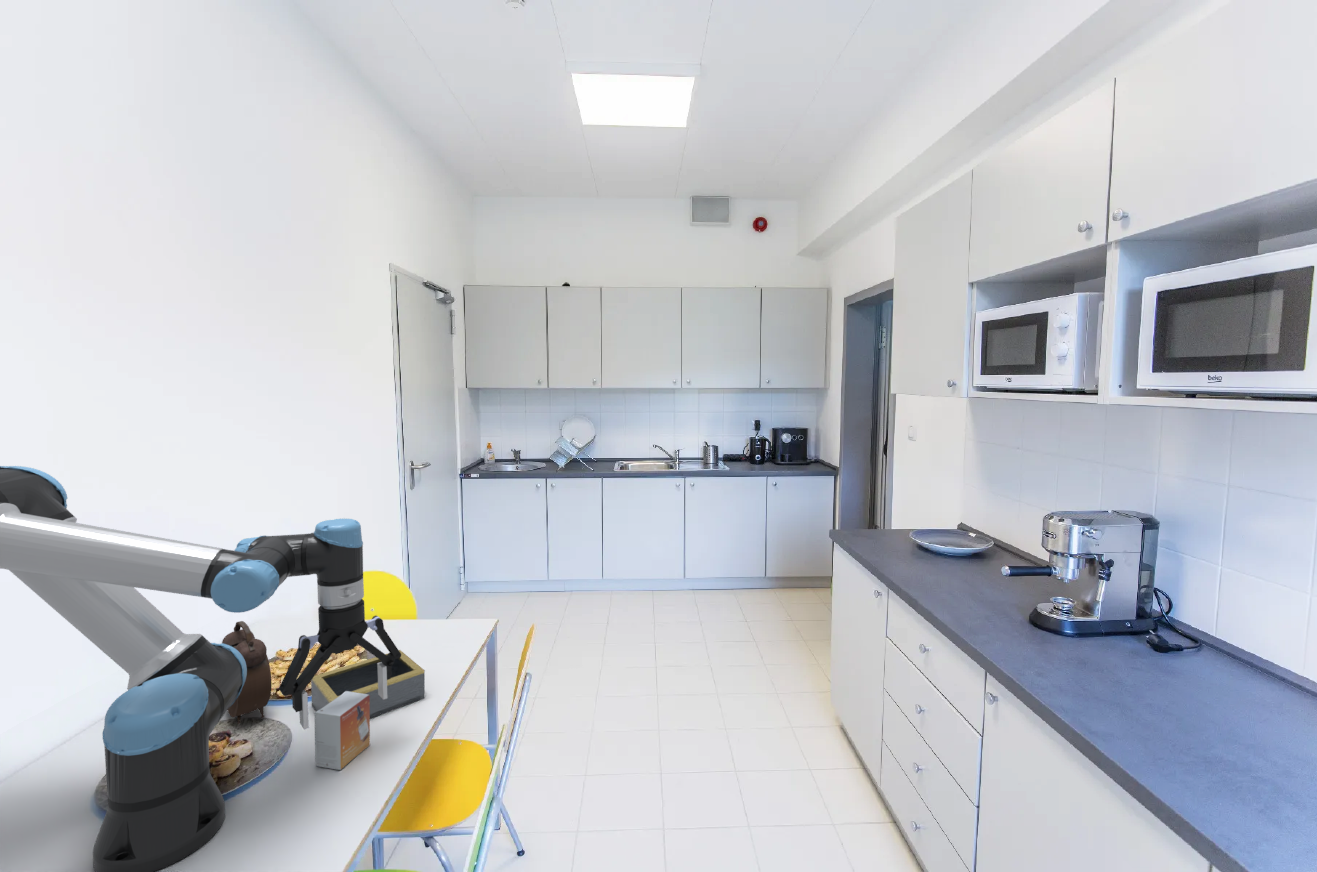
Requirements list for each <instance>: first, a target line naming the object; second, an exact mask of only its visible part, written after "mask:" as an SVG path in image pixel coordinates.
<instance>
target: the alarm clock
mask: <svg viewBox="0 0 1317 872" xmlns="http://www.w3.org/2000/svg"><path fill="white" fill-rule="evenodd" d="M221 643H223V644H227V645H229V646H232V647H233V648H235V649H236V650H238V651H239V652H240V653H241V655H242V656H243V658H244V660H245V662H246V666H247V676H246V680H245V683H244V685H243V687H242V690H241V692H240V694H239V696H238V698H237V699H236V700H235V702H234V703H233V704H232V705H231V706H230V707H229V708H228V710H227V713H228V715H229V716H230V718H236V719H237V723H236V724H237V725H241V723H242V721H241V719H242V716H244V715H248V714H251V713H252V712H255V711H258V712H259V714H260V719H264V718H265V714H264V713H265V712H264V711H265V710H264V709H265V708H264V707H266V706H267V705H268V704H269V702H270V701H269V700H270V698H271V696H272V687H273V686H272V673H271V666H270V661H269V657H268V654H267V646H266V644H265V642H263V640H262V639H258V638H256V637H255V635H254V633H253V632H252V631H251V628H250V627H249V625H248V624H247V623H246V622H245V621H243V620H240V621H236V622H235V625H234V627H233V631H231V632H229V633H227V634H226V635H225V636H224V637H223V639H222V641H221Z"/></svg>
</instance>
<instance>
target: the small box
mask: <svg viewBox="0 0 1317 872" xmlns="http://www.w3.org/2000/svg"><path fill="white" fill-rule="evenodd" d="M313 714H314V764H315V765H314V766H315V767H319V768H326V769H331V770H335V771H336V770H337V771H341V770H342V769H344V768H345V767H346V766H347V765H348V764H349V763H350V762H351V761H353V760H354V759H355V758H356V757H358V756H359V754H361V753H363V751H364V750H366V749H367V748H368V747H369V746H371V732H370V731H371V724H370V723H371V722H370V721H371V719H370V695H368V694H362V693H356V692H349V691H345V692H344V693H343V694H342V695H340V696H339V697H337V698H336V699H334V700H333V701H332V702H330V703H329V704H327V705H326V706H324V707H323V708H321V709H320V710H318V711H315V712H314V713H313Z"/></svg>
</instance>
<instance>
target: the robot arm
mask: <svg viewBox="0 0 1317 872" xmlns="http://www.w3.org/2000/svg"><path fill="white" fill-rule="evenodd" d="M67 500H68V495H67V491H66V490H65V488H64V486H63V485H62V483H61V482H59V480H57V479H56V478H55V477H53V476H52V475H51V474H49V473H47V472H45V471H43V470H40V469H37V468H34V467H33V468H32V467H30V466H29V467H28V466H21V465H8V466H7V465H0V569H3V570H8V571H9V572H10V573H11V574H12V575H14V576H15V577H16V578H17V579H19V580H20V581H21V582H22V583H23V584H24V585H26V587H28V588H29V589H30V590H31V591H32V592H34V593H35V594H36V595H37V596H38V597H39V598H40V599H42V600H43V601H44V602H45V603H46V604H47V605H48V606H50V607H51V608H52V609H53V610H54V611H55V612H57V613H58V614H59V615H60V616H61V617H62V618H63V619H65V621H67V622H68V623H69V624H70V625H72V627H74V628H75V629H76V630H77V631H79V632H80V633H81V634H82V635H83V636H84V637H85V638H86V639H88V640H89V641H90V642H91V643H92V644H93V645H94V646H96V647H97V648H98V649H99V650H100V651H102V653H104V654H105V655H106V656H107V657H108V658H109V659H111V660H112V661H113V662H115V664H116V665H118V667H120V668H121V669H122V670H123V671H125V672H126V673H127V674H128V677H129V678H128V682H127V687H126V689H127V690H125V692H124V693H122V694H121V695H120V696H118V697H117V698H116V699H115V700H114V701H113V702H112V703H111V705H110V706H109V707H108V709H107V710H106V713H105V717H104V722H103V723H104V725H103V729H102V733H101V734H102V740H103V747H104V759H105V761H104V762H105V778H106V780H105V781H106V795H107V810H106V812H105V815H104V817H103V820H102V823H101V825H100V828H99V831H98V834H97V837H96V839H95V842H94V846H93V849H92V862H93V863H92V865H93V870H94V871H95V872H156V871H159V870H162V869H164V868H166V867H169V866H171V865H173V864H174V863H177V862H179V861H181V860H182V859H184V858H186V857H188V856H189V855H191V854H193V853H194V852H196V851H197V850H199V849H200V848H201V847H202V846H203V845H205V844H206V843H207V842H209V840H211V839H212V838H213V837H214V836H215V834H216V833H218V832H219V830H220V829H221V828H222V826H223V824H224V821H225V818H226V811H225V810H226V809H225V808H226V807H225V805H226V804H225V799H224V796H223V794H222V793H221V791H220V789H219V787H218V785H217V783H216V782H215V780H214V778H213V777H212V775H211V771H210V751H209V750H210V748H209V746H210V745H209V744H210V743H209V742H210V741H209V739H210V734H211V733H212V732H213V731H214V730H215V727H216V726H217V725H218V723H220V721H221V720H222V718H223V717H224V716H225V714H226V713H227V712H228V708H229V707H230V706H231V705H232V704H233V703H234V702H235V700H236V699H237V698H238V696H239V694H240V692H241V690H242V687H243V685H244V683H245V680H246V676H247V666H246V662H245V660H244V658H243V656H242V655H241V653H240V652H239V651H238V650H236V649H235V648H233V647H232V646H229V645H227V644H223V643H222V642H221V643H216V642H210V641H209V640H208V639H207V638H206V637H205V636H203V634H201V633H184V632H183V630H181V629H180V628H178V626H177V625H175V624H174V622H172V621H171V620H170V619H169V618H168V617H167V616H166V615H165V614H164V613H162V611H160V610H159V609H158V608H157V607H156V606H155V605H154V604H153V603H151V602H150V601H149V600H148V599H147V598H146V597H145V596H144V595H143V594H142V593H141V592H139V590H137V589H136V588H138V589H142V590H143V589H144V590H150V591H158V592H164V593H170V594H177V595H178V594H179V595H183V596H184V595H185V596H191V597H199V598H205V599H211V600H212V601H213V602H214V604H215V606H217V607H219V608H220V609H222V610H224V611H226V612H229V613H234V614H236V613H238V614H239V613H247V612H249V611H251V610H252V611H253V610H254V609H257V608H258V607H260V606H261V605H262V604H263V603H265V602H266V601H268V600H269V599H270V598H271V597H272V596H274V594H275V593H276V591H277V589H278V588H279V586H281V585H282V584H283V583H284V582H285V581H286V580H287V578H291V577H302V576H311V575H316V581H317V584H316V585H317V604H318V605H319V607H318V609H317V610H318V612H317V613H318V632H317V634H315V635H309V636H306V635H305V634H301V635H300V637H298V645H297V646H298V647H297V650H296V652H295V654H294V656H293V659H292V661H291V663H290V664H289V666H288V668H287V671H286V673H285V674H284V677H283V679H282V681H281V682H280V685H279V688H278V689H279V692H280V693H281V694H282V696H283V697H287V696H291V698H292V699H291V701H292V703H291V704H292V709H293V710H294V711H295V713H298V715H299V725H301V727H302V729H303V730H307V729H309V728H310V727H309V726H310V724H309V723H310V722H309V702H308V692H307V691H306V688H307V687H308V685H309V684H310V683H311V680H312V678H313V677H314V676H316V675H317V673H318V671H319V670H320V669H321V668H322V666H323V665H324V663H325V662H326V661H327V660H329V658H330V657H331V656H332V654H335V655H337V654H342V653H343V652H345V651H352V650H354V649H355V648H356V647H357V646H358V645H359V646H360V648H363V649H365V650H366V651H367V652H369V653H370V654H371V655H373V656H374V657H377V658H378V659H379V660H381V661H382V662H380V663H377V666H378V695H379V696H380V697H381V698H382V699H383V700H384V699H386V698H387V680H389V679H391V676H392V672H391V666H392V665H393V663H394V662H393V661H394V660H395V659H399V658H400V657H401V653H400V652H399V650H400V649H399V648H398V647H397V645H396V644H395V643H394V641H393V639H392V638H391V637H390V635H389V634H388V633H387V630H386V629H385V627H384V626H385V625H384V621H383V619H382V618H381V617H380V616H378V615H374V616H372V617H371V619H369V620H365V619H366V617H365V615H366V614H365V599H364V596H365V591H364V590H365V589H364V553H363V552H364V551H363V550H364V549H363V547H364V546H363V545H364V542H363V538H362V537H363V536H362V535H363V534H362V526H361V523H360V522H359V521H358V520H356V519H353V518H334V519H328V520H327V519H325V520H323V521H320V522H318V523H317V524H316V525H315V526H314V527H315V528H314V531H313V532H311V533H300V534H281V535H260V536H257V537H248V538H243V539H241V540H240V541H239V542H237V544H236V548H235V549H233V550H231V549H225V548H221V547H217V546H216V547H215V546H209V545H205V544H199V543H193V542H187V541H182V540H176V539H171V538H165V537H160V536H159V537H158V536H153V535H148V534H142V533H136V532H132V531H131V532H130V531H124V530H119V529H114V528H108V527H102V526H97V525H91V524H84V523H78V522H77V520H78V518H77V517H76V516H75V515H73V513H72V512H70V511H69V510H68V509H67V507H68V503H67ZM368 628H370V630H372V631H374V632H375V633H376V635H377V636H378V637H379V639H380V641H381V642H382V643H383V645H384V647H385V648H386V649H387V651H388V652H389V654H388V653H385V652H383V651H381V650H380V649H379V648H378V647H376V646H374V645H373V644H372V643H370V641H368V640H366V639H365V638H364V637H363V636H364V635H365V634H366V632H367V631H368ZM316 643H319V644H320V646H319V647H318V648H317V650H316V651H315V654H314V655H313V657H312V658H311V660H310V661H309V662H308V664H307V665H306V666H305V668H304V669H303V667H304V664H305V662H306V661H307V658H308V656H309V653H310V650H311V649H313V648H314V645H316ZM386 654H387V655H386ZM302 669H303V670H302ZM301 671H302V672H301Z"/></svg>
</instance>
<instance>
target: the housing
mask: <svg viewBox="0 0 1317 872" xmlns="http://www.w3.org/2000/svg"><path fill="white" fill-rule="evenodd" d="M398 650H399V652H400V653H401V657H400V658H399V659H395V660H394V661H393V662H394V663H393V665H392V666H391V672H392V676H391V679H389V680H387V698H386V699H384V700H383V699H382V698H381V697H380V696H379V695H378V666H377V663H380V662H382V661H381V660H379V659H378V658H377V657H375V656H374V657H372V658H369V659H365V660H362V661H359V662H355V663H353V664H349V665H346V666H343V667H338V668H335V669H333V670H329V671H326V672H323V673H320V674H315V676H314V677H313V678H312V680H311V681H310V683H311V684H310V686H311V689H310V690H311V707H312V708H313V710H314V711H315V712H316V711H318V710H320V709H321V708H323V707H324V706H326V705H327V704H329V703H330V702H332V701H333V700H334V699H336V698H337V697H339V696H340V695H342V694H343V693H344V692H345V691H349V692H356V693H362V694H368V695H370V720H371V719H374V718H376V717H378V716H382V715H384V714H387V713H389V712H392V711H394V710H397V709H401V708H403V707H405V706H407V705H411V704H413V703H416V702H418V701H421V700H424V699H425V698H426V697H425V685H426V684H425V675H426V674H425V672H426V671H425V669H423V668H422V667H421V666H420V665H419V664H417V662H415V661H414V659H412V658H411V657H410V656H408V655H407V654H406V653H405V652H404V651H402V650H401V649H398ZM389 653H390V652H389ZM389 653H385V654H386V655H387V654H389Z"/></svg>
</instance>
